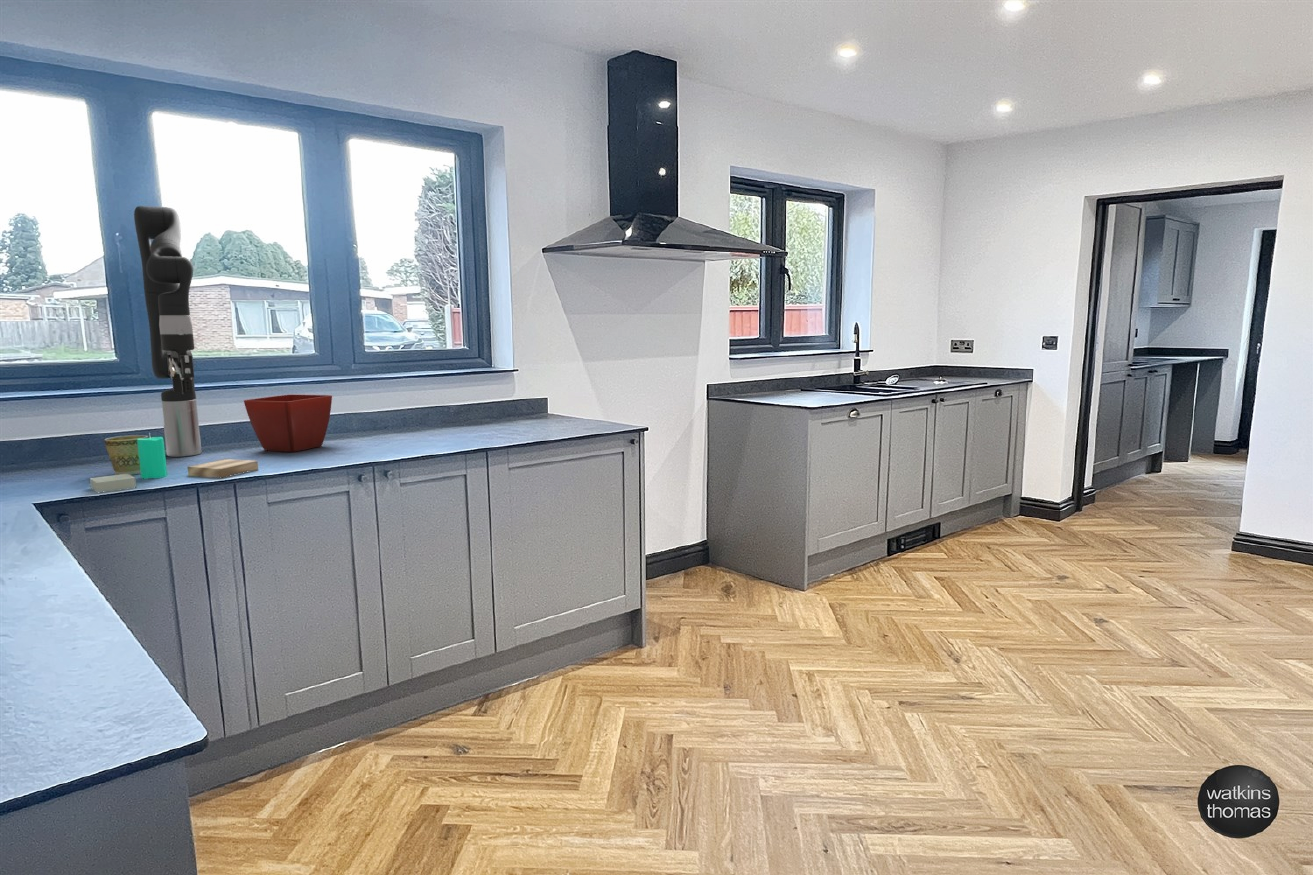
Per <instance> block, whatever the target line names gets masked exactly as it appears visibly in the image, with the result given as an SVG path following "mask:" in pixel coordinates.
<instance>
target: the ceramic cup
mask: <svg viewBox="0 0 1313 875" xmlns="http://www.w3.org/2000/svg"><path fill="white" fill-rule="evenodd" d="M151 437H152V436H148V435H146V434H145V435H144V434H143V435H142V434H133V435H131V434H130V435H118V436H112V437H107V438H105V439H103V441H104V445H105V448H106V451H107V454H108V455H109V460H110V462H111V465H112V469H113V472H114V475H120V474H129V475H131V476H135V475H141V471H140V462H139V453H138V444H137V439H145V438H151Z"/></svg>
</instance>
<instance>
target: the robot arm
mask: <svg viewBox="0 0 1313 875" xmlns="http://www.w3.org/2000/svg"><path fill="white" fill-rule="evenodd" d="M133 213H134V214H133V217H134V218H133V220H134V226H135V232H136V237H137V243H138V248H139V249H138V250H139V254H140V259H141V261H140V262H141V270H142V282H143V292H144V293H143V294H144V300H145V306H146V312H147V313H146V314H147V319H148V326H149V336H150V337H149V338H150V340H149V341H150V357H151V358H150V360H151V366H152V372H153V375H154V376H155V377H156V378H157V379H161V380H162V379H165V380H166V379H171V382H172V388H169V389H168V388H167V389H166V390H162V392H161V393H160V398H161V406H162V415H163V416H162V418H163V423H164V424H163V432H164V441H165V442H164V444H165V454H166V455H167V457H172V458H173V457H176V458H177V457H188V456H195V455H201V454H202V453H201V452H202V444H201V443H202V441H201V434H200V432H201V431H200V426H199V425H200V423H199V413H198V405H197V396H196V387H195V371H194V368H195V367H194V357H193V353H192V351H194V350H195V341H194V331H193V322H192V318H191V312H190V300H189V299H190V289H191V284H192V280H193V276H194V265H193V264H192V261H191V260H190V259H189V258H187V257H184V256H183V254H182V250H181V240H182V239H181V237H182V236H181V235H182V234H181V229H182V228H181V221H180V218H179V216H180V215H179V214H178V212H177V210H175V209H174V208H172V207H167V206H151V205H150V206H149V205H148V206H146V205H145V206H144V205H138V206H136V207H135V209H134V211H133ZM151 240H152V241H151Z"/></svg>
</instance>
